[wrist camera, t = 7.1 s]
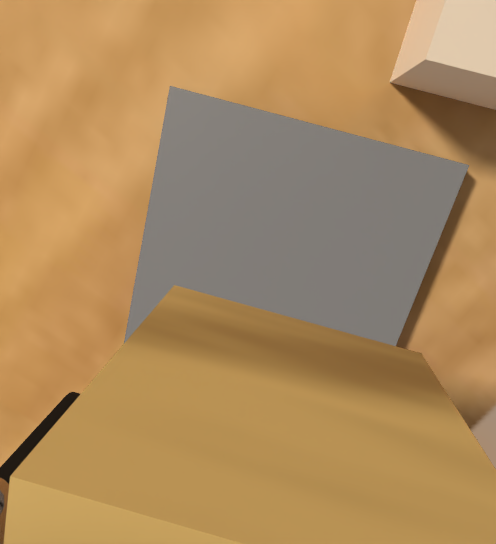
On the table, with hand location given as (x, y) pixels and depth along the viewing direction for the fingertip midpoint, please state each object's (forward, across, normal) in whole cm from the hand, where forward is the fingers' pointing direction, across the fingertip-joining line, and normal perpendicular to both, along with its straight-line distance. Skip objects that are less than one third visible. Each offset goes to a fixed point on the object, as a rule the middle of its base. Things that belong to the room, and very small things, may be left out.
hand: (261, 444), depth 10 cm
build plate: (+16, 0, 0) cm, 16 cm away
